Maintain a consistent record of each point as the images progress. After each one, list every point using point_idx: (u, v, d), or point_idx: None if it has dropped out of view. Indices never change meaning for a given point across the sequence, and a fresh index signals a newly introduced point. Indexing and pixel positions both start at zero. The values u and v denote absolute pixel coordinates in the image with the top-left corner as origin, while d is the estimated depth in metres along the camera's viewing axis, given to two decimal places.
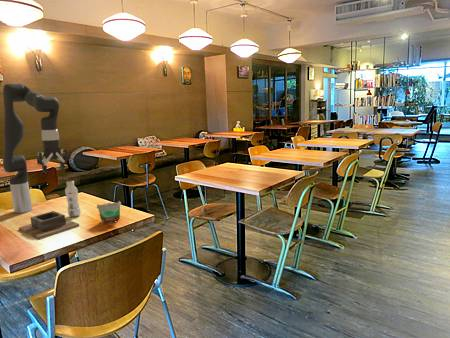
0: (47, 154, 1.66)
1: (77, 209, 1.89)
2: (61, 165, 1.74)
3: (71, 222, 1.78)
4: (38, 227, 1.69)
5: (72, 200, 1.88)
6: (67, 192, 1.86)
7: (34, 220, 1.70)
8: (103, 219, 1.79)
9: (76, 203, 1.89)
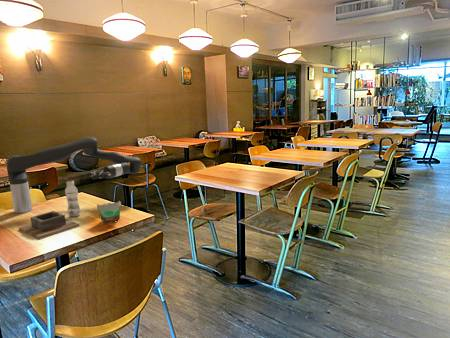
0: None
1: (77, 209, 1.89)
2: (88, 175, 2.00)
3: (71, 222, 1.78)
4: (38, 227, 1.69)
5: (72, 200, 1.88)
6: (67, 192, 1.86)
7: (34, 220, 1.70)
8: (103, 219, 1.79)
9: (76, 203, 1.89)
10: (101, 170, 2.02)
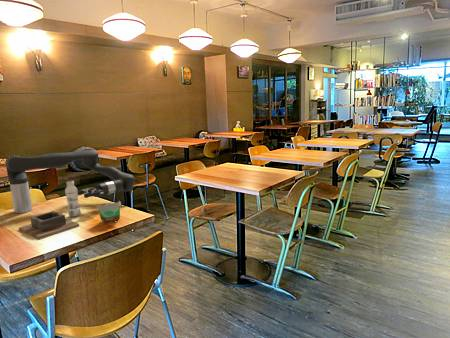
0: None
1: (77, 209, 1.89)
2: (80, 193, 1.97)
3: (71, 222, 1.78)
4: (38, 227, 1.69)
5: (72, 200, 1.88)
6: (67, 192, 1.86)
7: (34, 220, 1.70)
8: (103, 219, 1.79)
9: (76, 203, 1.89)
10: (93, 188, 2.00)
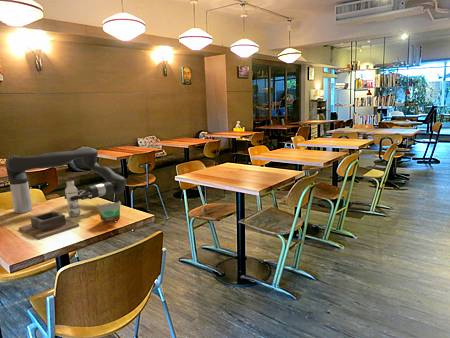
0: None
1: (77, 209, 1.89)
2: None
3: (71, 222, 1.78)
4: (38, 227, 1.69)
5: None
6: (67, 192, 1.86)
7: (34, 220, 1.70)
8: (103, 219, 1.79)
9: (76, 203, 1.89)
10: (83, 190, 1.95)
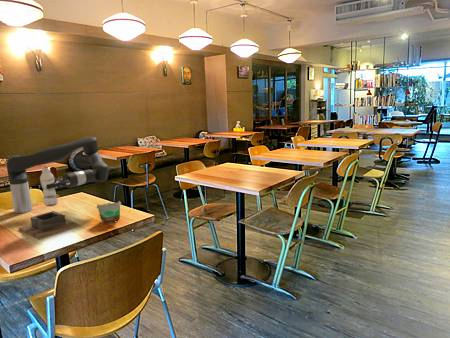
0: None
1: (54, 198, 1.73)
2: None
3: (71, 222, 1.78)
4: (38, 227, 1.69)
5: None
6: (42, 179, 1.70)
7: (34, 220, 1.70)
8: (103, 219, 1.79)
9: (53, 192, 1.73)
10: None
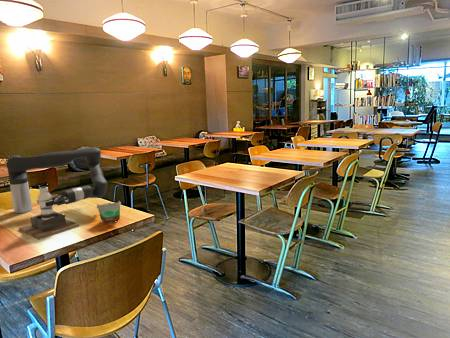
0: None
1: None
2: None
3: (71, 222, 1.78)
4: (38, 227, 1.69)
5: (46, 208, 1.70)
6: (40, 200, 1.69)
7: (34, 220, 1.70)
8: (103, 219, 1.79)
9: (50, 211, 1.72)
10: (58, 195, 1.78)
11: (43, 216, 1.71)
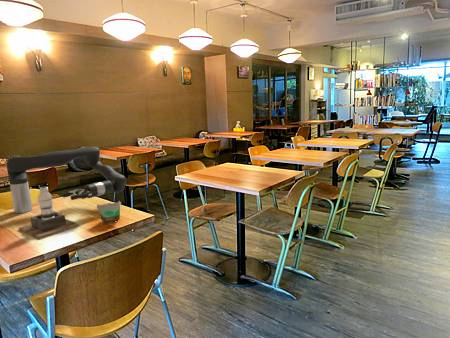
0: None
1: None
2: (67, 195, 1.85)
3: (71, 222, 1.78)
4: (38, 227, 1.69)
5: (46, 208, 1.71)
6: (40, 199, 1.69)
7: (34, 220, 1.70)
8: (103, 219, 1.79)
9: (50, 211, 1.72)
10: (81, 189, 1.88)
11: (43, 216, 1.71)
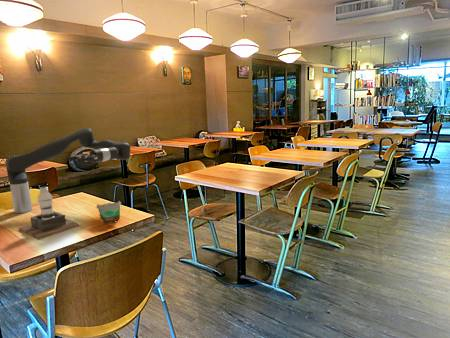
0: None
1: None
2: (73, 158, 1.88)
3: (71, 222, 1.78)
4: (38, 227, 1.69)
5: (46, 208, 1.71)
6: (40, 199, 1.69)
7: (34, 220, 1.70)
8: (103, 219, 1.79)
9: (50, 211, 1.72)
10: (87, 154, 1.91)
11: (43, 216, 1.71)
